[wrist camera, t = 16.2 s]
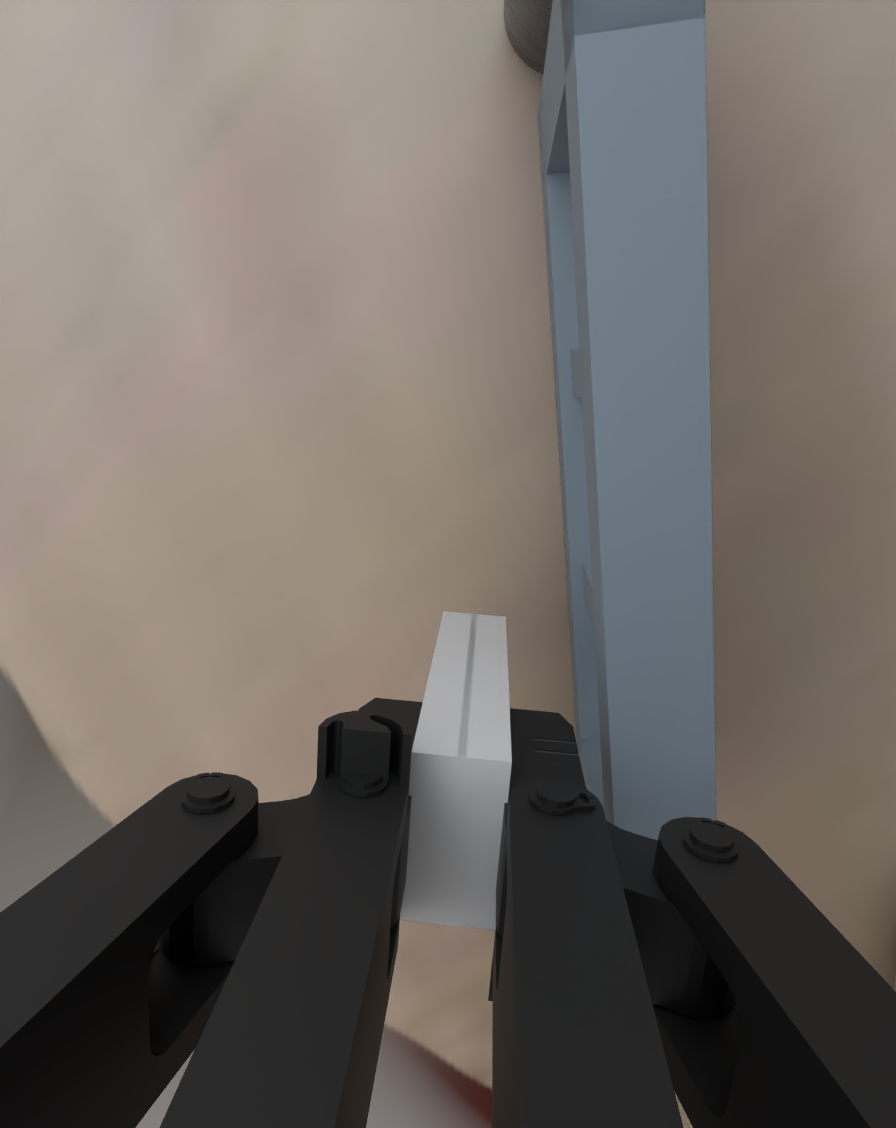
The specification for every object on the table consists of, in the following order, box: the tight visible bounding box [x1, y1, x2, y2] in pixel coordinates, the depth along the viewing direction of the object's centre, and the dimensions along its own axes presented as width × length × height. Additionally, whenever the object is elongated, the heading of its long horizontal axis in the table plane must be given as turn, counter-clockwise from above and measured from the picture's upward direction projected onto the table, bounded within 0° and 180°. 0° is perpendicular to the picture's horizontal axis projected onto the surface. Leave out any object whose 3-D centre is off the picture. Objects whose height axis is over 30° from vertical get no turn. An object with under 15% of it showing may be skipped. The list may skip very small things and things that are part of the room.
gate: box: [538, 0, 716, 840], centre depth 15 cm, size 2×17×9 cm, turn 6°
